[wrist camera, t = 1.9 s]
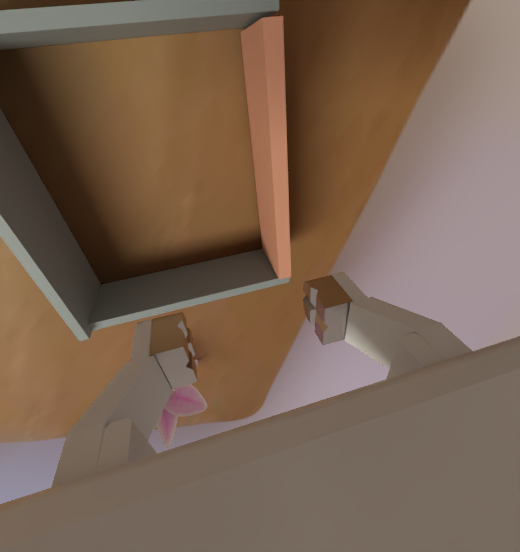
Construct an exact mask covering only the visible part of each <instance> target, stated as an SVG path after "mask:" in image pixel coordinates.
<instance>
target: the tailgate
mask: <svg viewBox="0 0 520 552" xmlns="http://www.w3.org/2000/svg"><path fill="white" fill-rule="evenodd" d="M241 43H242V53H243V63H244V73H245V82H246V92H247V102H248V112H249V121H250V131H251V141H252V151H253V160H254V170H255V180H256V190H257V200H258V209H259V219H260V229H261V239H262V248H263V251H264V253H265V255H266V256H267V258H268V260H269V262H270V264H271V265H272V267H273V269H274V271H275V273H276V275H277V276H278V278H279V280H280V279H284V278H288V277H291V257H290V224H289V191H288V159H287V126H286V94H285V61H284V28H283V16H275V17H264V18H261V19H260V20H258V21H257V22H255V23H254V24H252V25H251V26H249V27H248V28H246V29H245V30H243V31H242V32H241Z"/></svg>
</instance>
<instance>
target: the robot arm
mask: <svg viewBox="0 0 520 552" xmlns="http://www.w3.org/2000/svg"><path fill="white" fill-rule="evenodd" d="M303 291H304V292H305V294H306V296H305V298H304V299H303V306H304V311H305V314H306V317H307V319H308V320H309V322H310V323H311V324H313V325H315V333H316V334H317V336H318V338H319V339H320V341H321V343H322V345H325V344H329V343H333V342H336V341H340V340H344V339H345V341H346V342H348V343H349V344H351V345H353V346H354V347H356V348H357V349H359V350H360V351H362V352H363V353H365V354H367V355H368V356H370V357H371V358H373V359H374V360H376V361H378V362H379V363H381V364H382V365H384V366H386V367H387V368H389V369H390V370H389V373H388V376H387V379H386V380H383V381H380V382H377V383H374V384H371V385H368V386H364V387H362V388H358V389H355V390H352V391H349V392H346V393H343V394H340V395H337V396H334V397H331V398H327V399H324V400H321V401H318V402H316V403H312V404H309V405H306V406H303V407H300V408H297V409H293V410H291V411H288V412H284V413H281V414H278V415H275V416H272V417H269V418H266V419H263V420H260V421H257V422H253V423H250V424H247V425H244V426H241V427H238V428H235V429H232V430H229V431H226V432H222V433H220V434H217V435H213V436H210V437H207V438H204V439H201V440H198V441H195V442H192V443H188V444H185V445H182V446H179V447H176V448H173V449H170V450H167V451H164V452H161V453H158V454H157V452H156V451H155V450H154V448H153V447H152V446H151V445H150V443H149V442H148V439H149V437H150V435H151V433H152V431H153V429H154V427H155V425H156V423H157V421H158V419H159V417H160V415H161V413H162V411H163V409H164V407H165V405H166V403H167V401H168V399H169V397H170V395H171V393H172V389H175V388H178V387H181V386H185V385H188V384H191V383H194V382H197V370H196V363H195V361H194V358H193V357H194V355H195V349H194V343H193V338H192V335H191V332H190V329H189V328H187V323H186V318H185V316H184V313H183V312H181V313H176V314H172V315H167V316H163V317H158V318H154V319H151V320H146V321H142V322H138V323H137V325H136V327H135V334H134V341H133V348H132V355H131V362H127V363H125V364H124V366H123V367H122V368H121V369H120V370H119V372H118V373H117V374H116V375H115V377H114V378H113V379H112V380H111V381H110V383H109V384H108V385H107V386H106V387H105V389H104V390H103V391H102V392H101V394H100V395H99V396H98V397H97V398H96V400H95V401H94V402H93V403H92V404H91V406H90V407H89V408H88V409H87V410H86V412H85V413H84V414H83V415H82V417H81V418H80V419H79V420H78V421H77V423H76V424H75V425H74V426H73V427H72V429H71V430H70V431H69V432H68V433H67V436H66V440H65V443H64V446H63V450H62V453H61V457H60V460H59V463H58V467H57V470H56V474H55V477H54V480H53V484H52V487H51V488H50V489H46V490H43V491H40V492H37V493H34V494H31V495H28V496H25V497H21V498H18V499H15V500H12V501H9V502H6V503H3V504H0V552H520V336H519V337H516V338H513V339H510V340H507V341H503V342H501V343H497V344H494V345H491V346H488V347H485V348H482V349H479V350H476V351H472V350H471V349H470V348H468V347H467V346H466V345H465V344H464V343H463V342H462V341H461V340H460V339H458V338H457V337H456V336H455V335H454V334H453V333H452V332H450V331H449V330H448V329H447V328H446V327H445V326H444V325H443V324H442V323H440V322H437V321H434V320H432V319H429V318H426V317H424V316H421V315H418V314H416V313H413V312H410V311H408V310H405V309H402V308H400V307H397V306H394V305H391V304H389V303H386V302H384V301H381V300H379V299H376V298H373V297H369V298H368V297H367V296H366V295H364V293H363V292H362V291H361V290H360V289H359V288H358V287H357V286H356V285H355V283H353V281H352V280H351V279H350V278H349V277H348V276H347V275H346V274H345V273H344V272H339V273H335V274H332V275H329V276H325V277H321V278H317V279H313V280H309V281H306V282H304V285H303Z"/></svg>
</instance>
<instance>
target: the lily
mask: <svg viewBox="0 0 520 552" xmlns="http://www.w3.org/2000/svg"><path fill="white" fill-rule="evenodd" d="M194 361H195V363H196V369H197V366H198V360H197V359H196V360H194ZM206 409H207V404H206V401H205V400H204V398H203V397H202V395H201V394H200V393H199V391H198V390H197V389H196V388H195V387H194V386H192V385H191V384H188V385H185V386H181V387H178V388H175V389H172V393H171V395H170V397H169V399H168V401H167V403H166V405H165V407H164V409H163V411H162V413H161V415H160V417H159V419H158V421H157V423H156V425H155V427H154V429H155V428H156V427H158V430H159V432H160V435H161V437H162V439H163V441H164V443H165V445H166V447H169V446H170V443H171V441H172V439H173V436H174V433H175V429H176V425H177V419H178V416H190V415H194V414H198V413H201V412H203V411H205V410H206Z"/></svg>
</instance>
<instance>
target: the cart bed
mask: <svg viewBox="0 0 520 552" xmlns="http://www.w3.org/2000/svg"><path fill="white" fill-rule="evenodd" d="M278 11H279V0H139V1H125V2H111V3H97V4H83V5H69V6H55V7H41V8H27V9H13V10H0V50H6V49H17V48H28V47H39V46H50V45H61V44H72V43H83V42H94V41H105V40H115V39H126V38H137V37H148V36H159V35H170V34H181V33H192V32H203V31H214V30H225V29H236V28H247V27H249V26H251V25H252V24H254V23H255V22H257V21H258V20H260V19H261V18H264V17H270V16H272V15H273V14H275V13H276V12H278ZM0 236H1V238H2V239H3V240H4V242H5V243H6V244H7V246H8V247H9V248H10V250H11V251H12V252H13V254H14V255H15V256H16V258H17V259H18V260H19V262H20V263H21V264H22V266H23V267H24V268H25V270H26V271H27V272H28V274H29V275H30V276H31V278H32V279H33V280H34V281H35V283H36V284H37V285H38V287H39V288H40V289H41V291H42V292H43V293H44V295H45V296H46V297H47V299H48V300H49V301H50V303H51V304H52V305H53V307H54V308H55V309H56V311H57V312H58V313H59V315H60V316H61V317H62V319H63V320H64V321H65V323H66V324H67V325H68V327H69V328H70V329H71V330H72V332H73V333H74V334H75V336H76V337H77V338H78V340H79V341H83V340H87V339H89V338H90V335H91V332H92V330H96V329H100V328H104V327H108V326H113V325H117V324H121V323H125V322H129V321H133V320H137V319H141V318H145V317H149V316H153V315H157V314H161V313H165V312H169V311H174V310H178V309H182V308H186V307H190V306H194V305H198V304H202V303H206V302H210V301H214V300H218V299H222V298H226V297H230V296H235V295H239V294H243V293H247V292H251V291H255V290H259V289H263V288H267V287H271V286H275V285H279V284H283V283H287V282H289V277H288V278H284V279H280V280H279V278H278V276H277V275H276V273H275V271H274V269H273V267H272V265H271V264H270V262H269V260H268V258H267V256H266V255H265V253H264V251H263V249H259V250H254V251H250V252H245V253H241V254H236V255H232V256H227V257H223V258H218V259H214V260H209V261H205V262H200V263H196V264H191V265H187V266H182V267H178V268H173V269H169V270H164V271H160V272H155V273H151V274H146V275H142V276H137V277H133V278H128V279H124V280H119V281H115V282H110V283H106V284H101V283H100V281H99V280H98V278H97V276H96V274H95V273H94V271H93V269H92V267H91V266H90V264H89V262H88V260H87V259H86V257H85V255H84V253H83V252H82V250H81V248H80V247H79V245H78V243H77V241H76V240H75V238H74V236H73V234H72V233H71V231H70V229H69V227H68V226H67V224H66V222H65V220H64V219H63V217H62V215H61V213H60V212H59V210H58V208H57V206H56V205H55V203H54V201H53V199H52V198H51V196H50V194H49V192H48V191H47V189H46V187H45V185H44V184H43V182H42V180H41V178H40V177H39V175H38V173H37V171H36V170H35V168H34V166H33V164H32V163H31V161H30V159H29V157H28V156H27V154H26V152H25V150H24V149H23V147H22V145H21V143H20V142H19V140H18V138H17V136H16V135H15V133H14V131H13V129H12V128H11V126H10V124H9V122H8V121H7V119H6V117H5V115H4V114H3V112H2V110H1V108H0Z"/></svg>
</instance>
